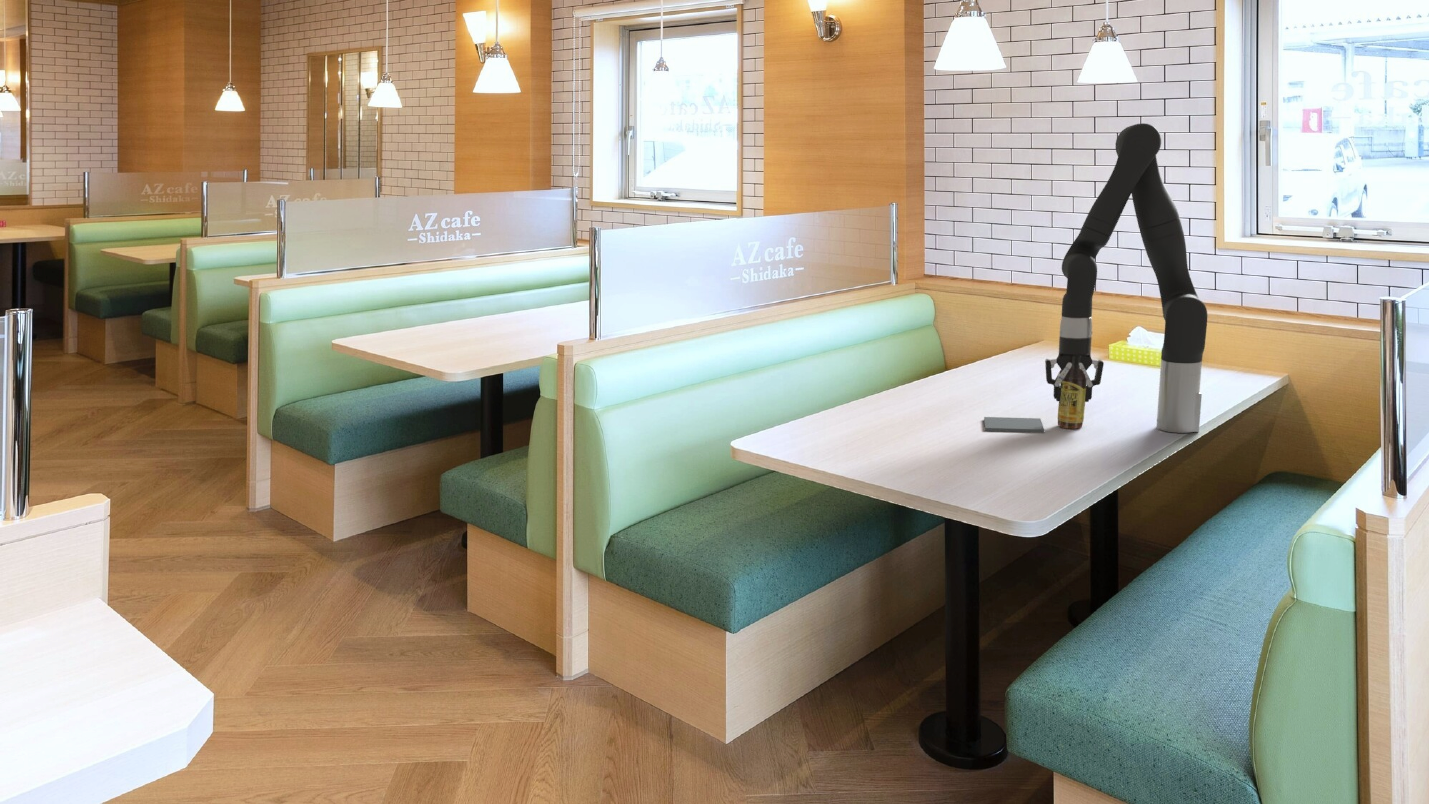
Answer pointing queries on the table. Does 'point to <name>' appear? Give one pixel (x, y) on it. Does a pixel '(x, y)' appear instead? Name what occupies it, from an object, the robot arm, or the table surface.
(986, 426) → the placemat
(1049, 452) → the table surface
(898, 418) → the table surface
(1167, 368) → the robot arm
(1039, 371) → the table surface
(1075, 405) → the sauce bottle
